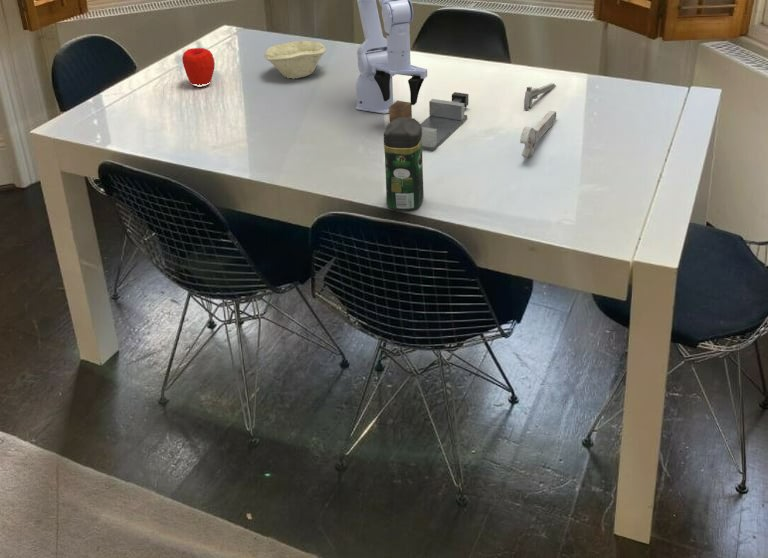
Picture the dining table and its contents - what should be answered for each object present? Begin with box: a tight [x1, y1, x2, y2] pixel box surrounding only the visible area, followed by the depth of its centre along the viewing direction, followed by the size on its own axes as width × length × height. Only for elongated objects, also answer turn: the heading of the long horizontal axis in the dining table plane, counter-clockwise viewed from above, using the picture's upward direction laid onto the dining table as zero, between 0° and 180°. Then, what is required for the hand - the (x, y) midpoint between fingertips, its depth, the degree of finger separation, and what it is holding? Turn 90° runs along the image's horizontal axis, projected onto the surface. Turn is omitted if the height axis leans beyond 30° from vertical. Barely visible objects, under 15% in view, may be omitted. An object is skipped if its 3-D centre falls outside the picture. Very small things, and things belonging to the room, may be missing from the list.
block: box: [388, 100, 413, 124], centre depth 238 cm, size 4×5×6 cm
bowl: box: [263, 40, 327, 80], centre depth 273 cm, size 14×18×15 cm
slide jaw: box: [428, 91, 469, 120], centre depth 244 cm, size 9×11×4 cm
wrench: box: [519, 110, 557, 158], centre depth 227 cm, size 8×2×30 cm
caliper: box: [523, 82, 557, 111], centre depth 252 cm, size 20×1×6 cm, turn 149°
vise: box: [420, 114, 468, 152], centre depth 235 cm, size 9×22×5 cm, turn 154°
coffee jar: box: [383, 117, 425, 212], centre depth 199 cm, size 10×8×19 cm
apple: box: [181, 47, 216, 85], centre depth 269 cm, size 9×9×11 cm
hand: (400, 101), depth 236 cm, fingers open, 7 cm apart
